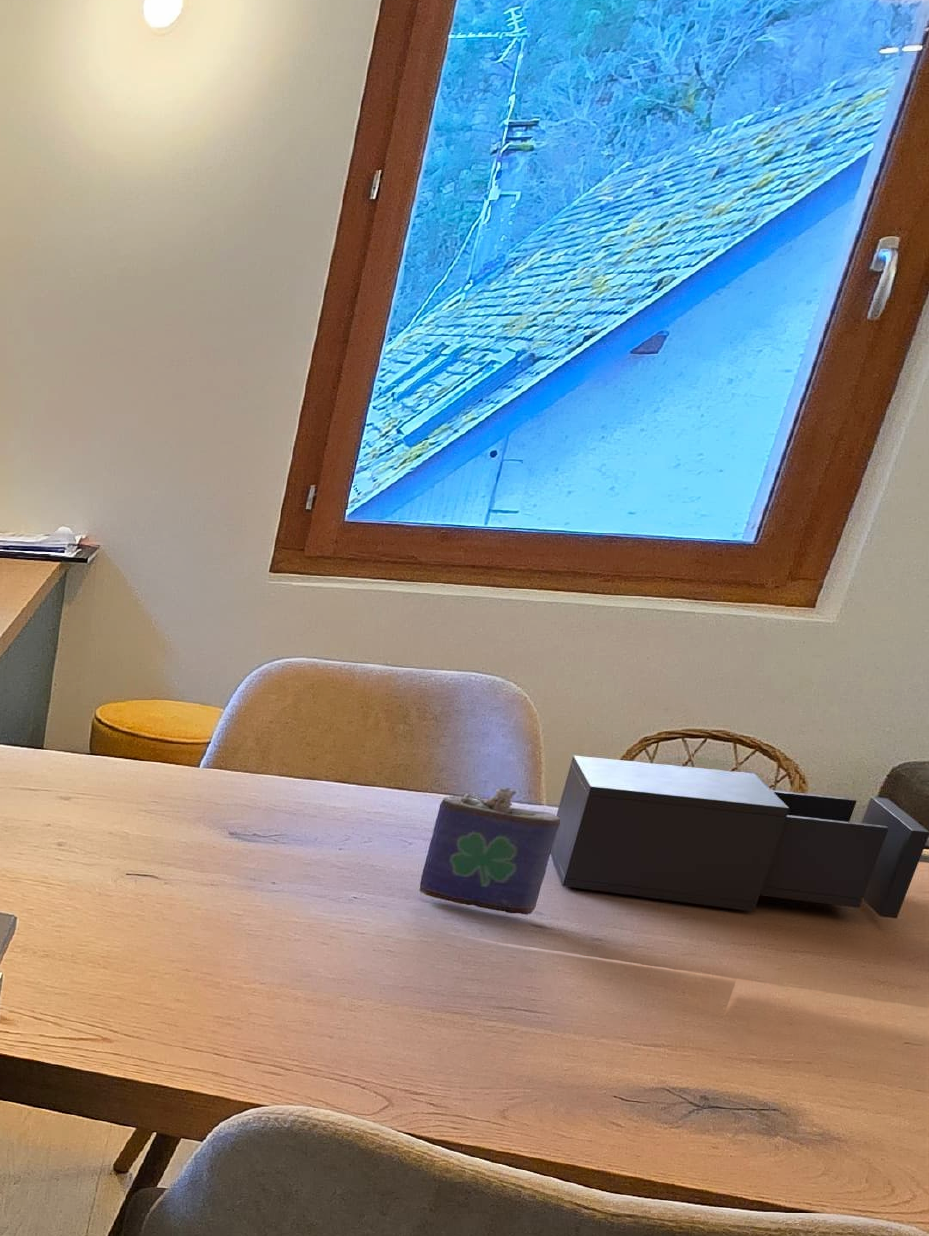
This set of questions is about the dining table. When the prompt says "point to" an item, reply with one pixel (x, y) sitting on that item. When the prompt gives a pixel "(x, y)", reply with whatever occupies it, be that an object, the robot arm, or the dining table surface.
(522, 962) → the dining table surface
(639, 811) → the drawer cabinet
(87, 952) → the dining table surface
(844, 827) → the grey sliding drawer
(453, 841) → the flask
